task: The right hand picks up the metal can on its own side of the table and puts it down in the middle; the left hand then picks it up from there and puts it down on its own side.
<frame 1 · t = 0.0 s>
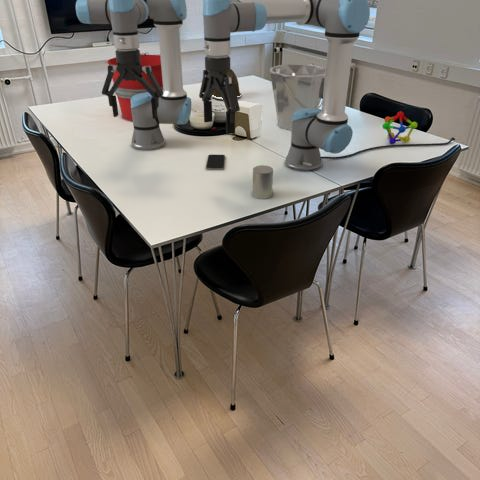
left hand: (135, 116, 150), 28 cm above the table, tool pointing down, fingers open, 13 cm apart
right hand: (219, 127, 140), 28 cm above the table, tool pointing down, fingers open, 13 cm apart
can: (262, 194, 163), on the table
bucket: (295, 125, 233), on the table
educational toy: (395, 143, 211), on the table
bell: (226, 97, 281), on the table
smartphone: (215, 162, 189), on the table
bucket 2: (144, 115, 248), on the table
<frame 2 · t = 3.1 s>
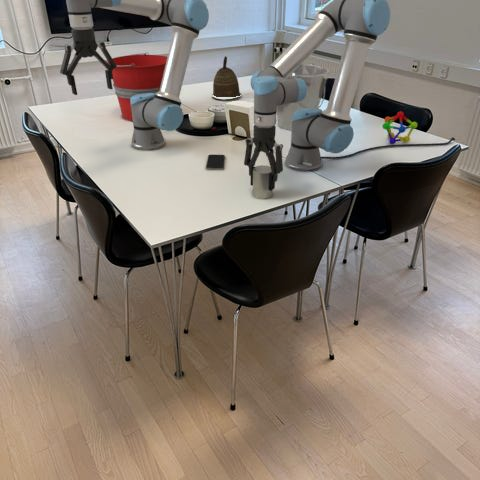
left hand: (92, 91, 163), 32 cm above the table, tool pointing down, fingers open, 13 cm apart
right hand: (262, 186, 161), 3 cm above the table, tool pointing down, fingers closed on can, 7 cm apart
can: (262, 194, 163), on the table, touching right hand
everything else where it was.
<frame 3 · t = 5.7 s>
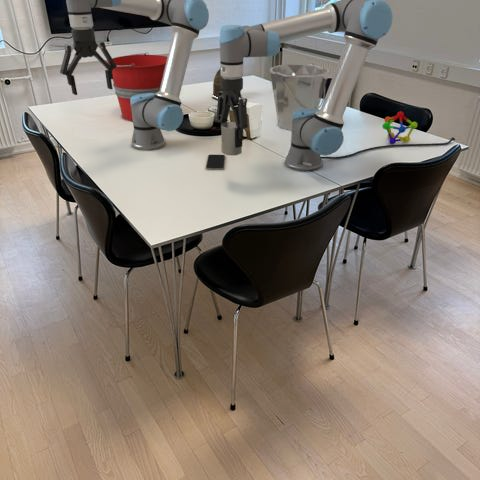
left hand: (92, 91, 163), 32 cm above the table, tool pointing down, fingers open, 13 cm apart
right hand: (231, 143, 158), 17 cm above the table, tool pointing down, fingers closed on can, 7 cm apart
can: (231, 151, 160), point 14 cm above the table, touching right hand
everything else where it was.
when the right hand's fingers open (5 cm above the table, at t = 8.5 s): can drops 2 cm, on the table.
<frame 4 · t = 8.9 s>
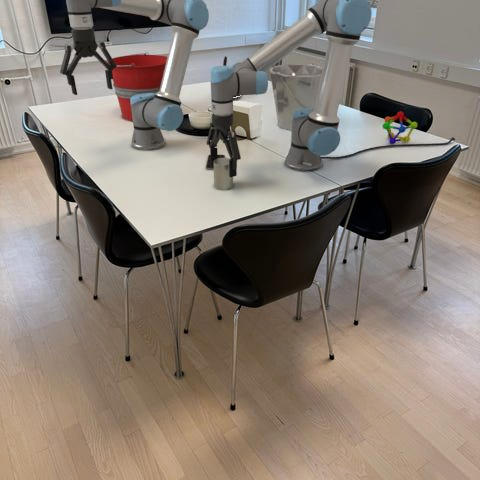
left hand: (92, 91, 163), 32 cm above the table, tool pointing down, fingers open, 13 cm apart
right hand: (223, 170, 166), 6 cm above the table, tool pointing down, fingers open, 13 cm apart
can: (223, 185, 169), on the table
everything else where it was.
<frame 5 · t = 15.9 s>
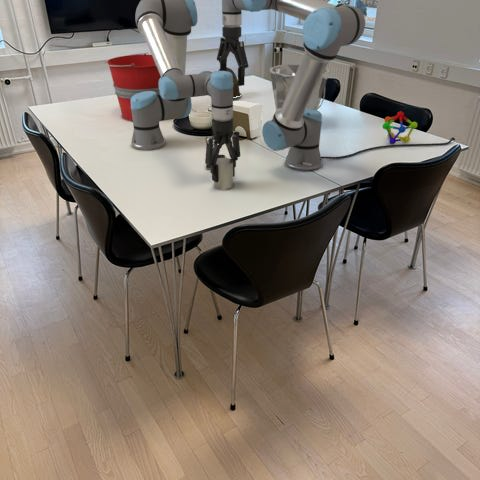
left hand: (223, 178, 168), 3 cm above the table, tool pointing down, fingers closed on can, 7 cm apart
right hand: (232, 82, 184), 30 cm above the table, tool pointing down, fingers open, 13 cm apart
can: (223, 185, 169), on the table, touching left hand
everything else where it was.
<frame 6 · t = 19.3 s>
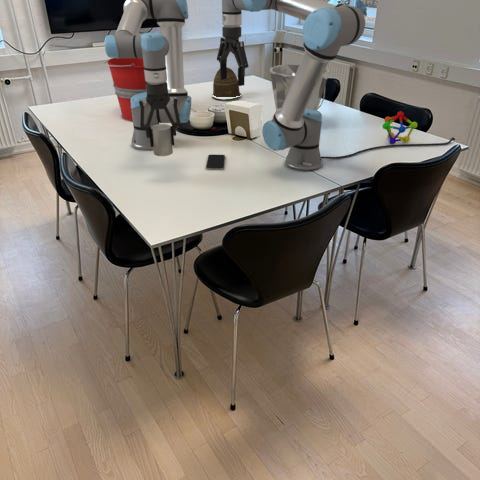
left hand: (162, 144, 166), 14 cm above the table, tool pointing down, fingers closed on can, 7 cm apart
right hand: (232, 82, 184), 30 cm above the table, tool pointing down, fingers open, 13 cm apart
can: (163, 152, 168), point 11 cm above the table, touching left hand
everything else where it was.
when the left hand's fingers open (5 cm above the table, at t = 22.8 s): can drops 2 cm, on the table.
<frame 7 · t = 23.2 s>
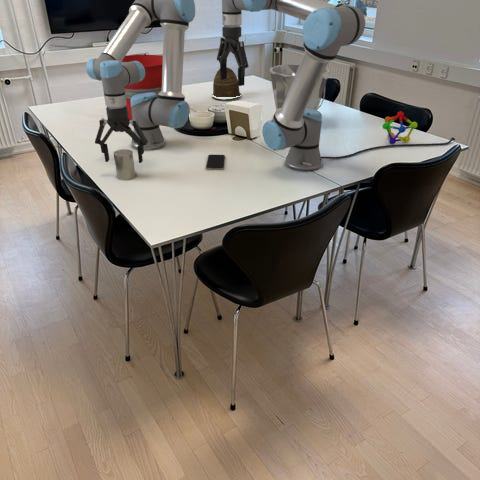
left hand: (124, 161, 173), 6 cm above the table, tool pointing down, fingers open, 13 cm apart
right hand: (232, 82, 184), 30 cm above the table, tool pointing down, fingers open, 13 cm apart
can: (126, 176, 176), on the table
everything else where it was.
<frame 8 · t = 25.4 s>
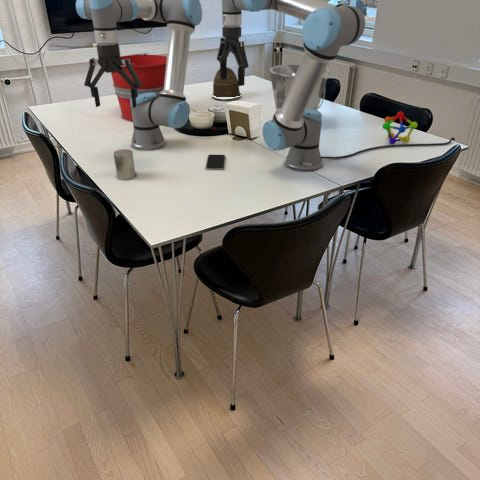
left hand: (116, 106, 162), 28 cm above the table, tool pointing down, fingers open, 13 cm apart
right hand: (232, 82, 184), 30 cm above the table, tool pointing down, fingers open, 13 cm apart
nothing on the table moved.
at the end: can inside the target area (0.0 cm from its centre), on the table; can tilted 0°; the two hands never held the can at the same time; the left hand is holding nothing; the right hand is holding nothing; can at rest at the end (0.0 cm/s) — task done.
